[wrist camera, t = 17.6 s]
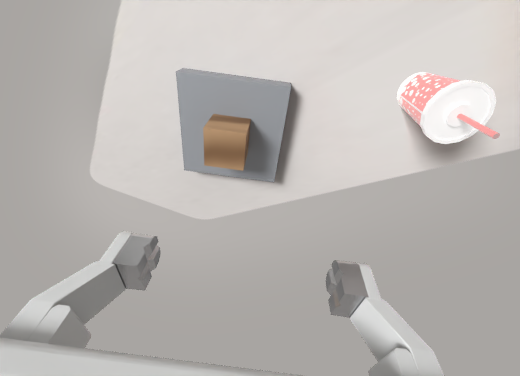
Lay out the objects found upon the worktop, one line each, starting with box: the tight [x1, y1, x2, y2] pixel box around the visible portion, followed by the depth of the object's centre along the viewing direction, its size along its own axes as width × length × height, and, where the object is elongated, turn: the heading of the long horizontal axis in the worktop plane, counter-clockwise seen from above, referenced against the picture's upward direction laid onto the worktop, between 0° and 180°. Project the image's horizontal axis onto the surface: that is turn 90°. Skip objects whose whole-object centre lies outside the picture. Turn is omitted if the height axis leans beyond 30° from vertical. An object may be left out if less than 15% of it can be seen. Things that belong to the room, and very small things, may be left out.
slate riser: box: [176, 68, 291, 182], centre depth 34 cm, size 14×14×2 cm
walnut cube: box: [203, 114, 251, 171], centre depth 31 cm, size 5×5×5 cm
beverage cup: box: [397, 72, 500, 144], centre depth 25 cm, size 6×6×14 cm
